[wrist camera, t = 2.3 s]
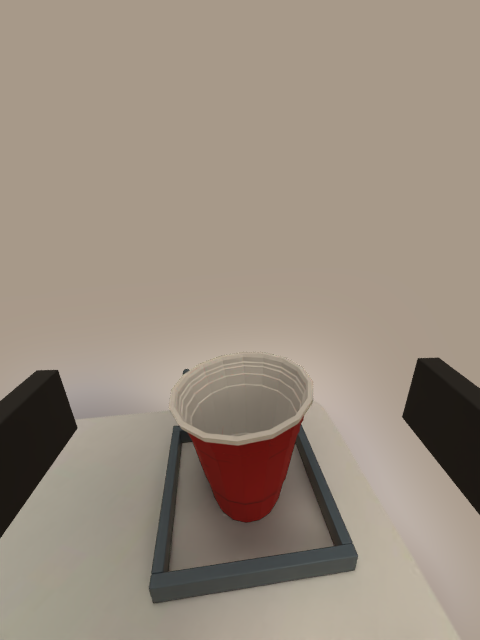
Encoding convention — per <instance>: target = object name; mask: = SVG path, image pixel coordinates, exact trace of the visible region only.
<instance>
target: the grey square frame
mask: <svg viewBox="0 0 480 640" xmlns="http://www.w3.org/2000/svg"><path fill="white" fill-rule="evenodd" d="M188 371H190V370H189V369H185V370H184V371H183V375H184V374H185V373H187V372H188ZM190 441H192V439H191V438H190V436H189V434H188V433H187V432H186V431H184V430H182V429H181V428H180V426H174V427H173V433H172V439H171V446H170V453H169V459H168V466H167V473H166V479H165V486H164V492H163V499H162V506H161V512H160V519H159V526H158V532H157V539H156V545H155V552H154V559H153V565H152V572H151V574H152V575H151V578H150V585H149V591H150V594H151V597H152V601H153V603H157V602H163V601H169V600H176V599H182V598H188V597H194V596H200V595H206V594H212V593H218V592H224V591H230V590H237V589H243V588H249V587H255V586H261V585H267V584H273V583H279V582H285V581H291V580H298V579H304V578H310V577H316V576H322V575H328V574H334V573H340V572H346V571H353V570H355V567H356V563H357V559H358V554H357V552H356V550H355V547H354V545H353V544H352V540H351V538H350V536H349V533H348V531H347V529H346V526H345V524H344V522H343V519H342V517H341V515H340V513H339V510H338V508H337V506H336V503H335V501H334V499H333V496H332V494H331V492H330V489H329V487H328V485H327V483H326V480H325V478H324V476H323V473H322V471H321V469H320V466H319V464H318V462H317V459H316V457H315V455H314V453H313V450H312V448H311V446H310V443H309V441H308V439H307V436H306V434H305V432H304V429H303V427H302V425H301V426H300V431H299V433H298V434H297V438H296V441H295V442H296V444H297V447H298V450H299V452H300V455H301V458H302V460H303V463H304V466H305V468H306V471H307V474H308V476H309V479H310V482H311V484H312V487H313V490H314V492H315V495H316V497H317V500H318V503H319V505H320V508H321V511H322V513H323V516H324V519H325V521H326V524H327V527H328V529H329V532H330V535H331V537H332V540H333V543H334V545H335V546H333V547H326V548H320V549H313V550H307V551H300V552H294V553H287V554H281V555H274V556H268V557H261V558H255V559H249V560H242V561H236V562H229V563H223V564H216V565H210V566H203V567H197V568H190V569H184V570H177V571H171V572H168V567H169V558H170V549H171V539H172V530H173V520H174V511H175V501H176V492H177V482H178V473H179V463H180V454H181V444H182V442H190Z"/></svg>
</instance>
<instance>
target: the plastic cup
mask: <svg viewBox="0 0 480 640" xmlns="http://www.w3.org/2000/svg"><path fill="white" fill-rule="evenodd" d="M312 401H313V381H312V379H311V378H310V377H309V375H308V374H307V372H306V371H305V370H304V368H303V367H302V366H300V365H298V364H296V363H294V362H293V361H291V360H289V359H287V358H285V357H281V356H277V355H273V354H268V353H259V352H257V353H256V352H241V353H236V354H229V355H223V356H219V357H216V358H214V359H211V360H208V361H206V362H203V363H200V364H199V365H197V366H196V367H194V368H193V369H191V370H190V371H188V372H187V373H185V374H184V375H182V377H181V378H180V379H179V381H178V382H177V383H176V385H175V386H174V387H173V389H172V390H171V395H170V402H169V409H170V411H171V413H172V414H173V416H174V418H175V419H176V421H177V423H178V425H179V426H180V428H181V429H182V430H184V431H186V432H187V433H188V434H189V436H190V438H191V439H192V442H193V444H194V447H195V449H196V452H197V454H198V457H199V460H200V462H201V465H202V467H203V470H204V473H205V475H206V478H207V479H208V481H209V483H210V485H211V488H212V491H213V494H214V497H215V499H216V501H217V502H218V504H219V506H220V508H221V509H222V511H223V512H224V513H225V514H227V515H228V516H229V517H231V518H232V519H233V520H238V521H242V522H246V523H247V522H252V521H257V520H260V519H261V518H263V517H264V516H266V515H267V514H269V513H270V512H271V510H272V508H273V507H274V505H275V503H276V501H277V500H278V498H279V495H280V491H281V488H282V484H283V482H284V480H285V478H286V474H287V471H288V467H289V463H290V460H291V456H292V452H293V449H294V445H295V441H296V438H297V434H298V433H299V431H300V426H301V423H302V421H303V418H304V415H305V413H306V412H307V410H308V409H309V407H310V406H311V404H312Z"/></svg>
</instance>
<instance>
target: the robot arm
mask: <svg viewBox="0 0 480 640" xmlns="http://www.w3.org/2000/svg"><path fill="white" fill-rule="evenodd" d="M402 417H403V419H404V420H405V421H406V423H407V424H408V425H409V426H410V428H411V429H412V430H413V431H414V433H415V434H416V435H417V436H418V437H419V439H420V440H421V441H422V443H423V444H424V445H425V447H426V448H427V449H428V450H429V451H430V453H431V454H432V455H433V457H434V458H435V459H436V460H437V462H438V463H439V464H440V465H441V467H442V468H443V469H444V470H445V471H446V473H447V474H448V475H449V477H450V478H451V479H452V481H453V482H454V483H455V484H456V486H457V487H458V488H459V489H460V491H461V492H462V493H463V494H464V496H465V497H466V498H467V499H468V500H469V502H470V503H471V505H472V506H473V507H474V508H475V509H476V511H477V512H478V513H479V514H480V388H479V387H477V386H476V385H474V384H473V383H472V382H470V381H469V380H468V379H466V378H465V377H464V376H462V375H461V374H460V373H458V372H457V371H456V370H454V369H453V368H452V367H450V366H449V365H448V364H446V363H445V362H444V361H442V360H441V359H440V358H418V360H417V364H416V367H415V371H414V375H413V378H412V382H411V386H410V390H409V394H408V397H407V401H406V405H405V409H404V412H403V416H402ZM76 430H77V425H76V422H75V419H74V416H73V413H72V410H71V408H70V404H69V401H68V398H67V396H66V392H65V390H64V387H63V384H62V381H61V378H60V375H59V372H58V370H40V371H36V372H34V373H33V374H32V375H31V376H30V377H28V378H27V379H26V380H25V381H24V382H23V383H21V384H20V385H19V386H18V387H16V388H15V389H14V390H13V391H12V392H11V393H9V394H8V395H7V396H6V397H5V398H3V399H2V400H1V401H0V538H1V537H2V535H3V534H4V532H5V531H6V529H7V528H8V527H9V525H10V524H11V522H12V521H13V519H14V518H15V517H16V515H17V514H18V512H19V511H20V509H21V508H22V507H23V505H24V504H25V502H26V501H27V499H28V498H29V497H30V495H31V494H32V492H33V491H34V489H35V488H36V487H37V485H38V484H39V482H40V481H41V480H42V478H43V477H44V475H45V474H46V472H47V471H48V470H49V468H50V467H51V465H52V464H53V462H54V461H55V460H56V458H57V457H58V455H59V454H60V452H61V451H62V450H63V448H64V447H65V445H66V444H67V442H68V441H69V440H70V438H71V437H72V435H73V434H74V432H75V431H76Z"/></svg>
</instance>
